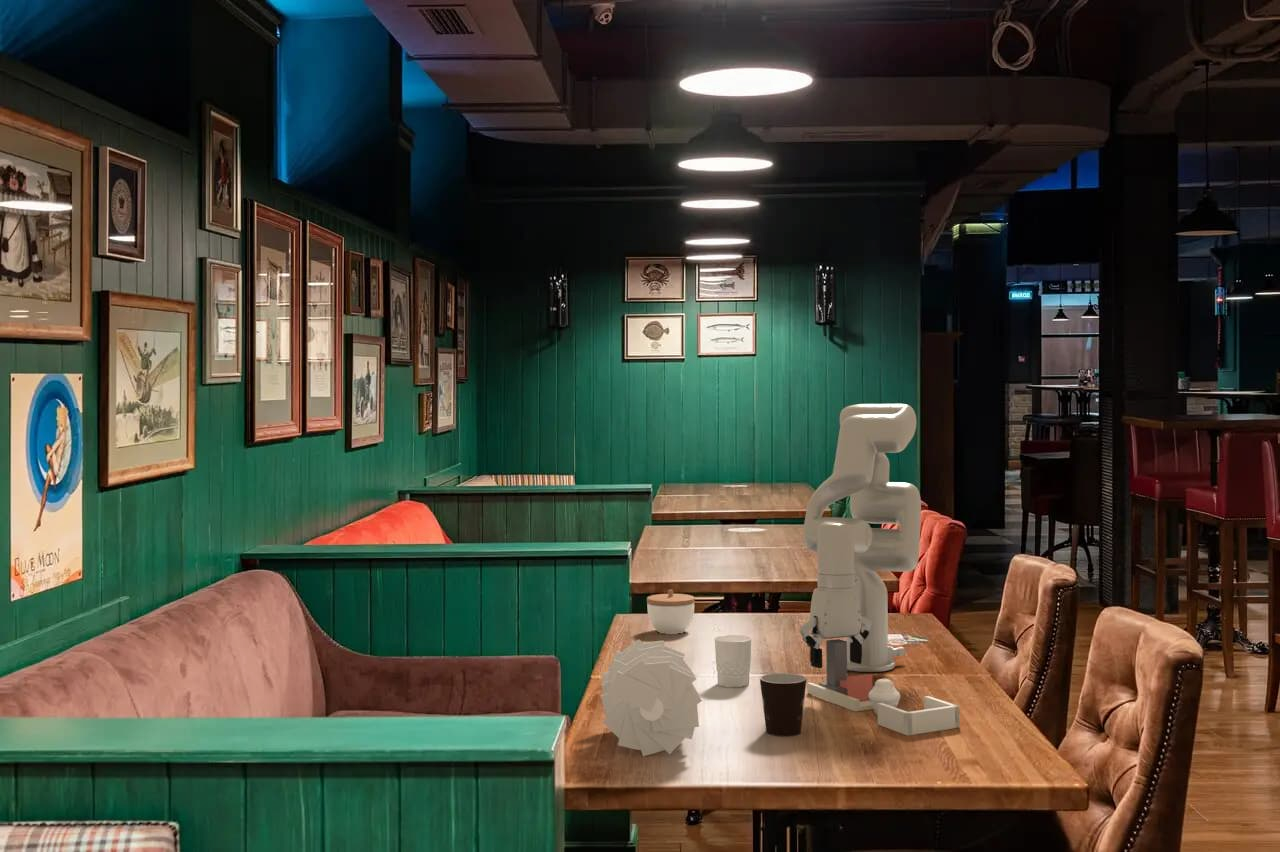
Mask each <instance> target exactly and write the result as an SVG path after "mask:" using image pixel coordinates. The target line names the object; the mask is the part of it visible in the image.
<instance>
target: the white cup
mask: <svg viewBox="0 0 1280 852" xmlns="http://www.w3.org/2000/svg"><path fill="white" fill-rule="evenodd" d="M714 651H715V653H714V654H715V664H716V673H717V674H716V675H717V676H716V677H717V685H718V686H720V687H723V686H724V687H723V688H731V687H732V688H734V687H735V688H737V687H738V688H743V686H744V687H747V686H749V685H750V674H751V673H750V671H751V660H752V637H751V636H749V635H742V634H741V635H740V634H724V635H718V636H715V637H714ZM748 684H749V685H748Z"/></svg>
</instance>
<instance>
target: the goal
mask: <svg viewBox="0 0 1280 852" xmlns="http://www.w3.org/2000/svg"><path fill="white" fill-rule="evenodd" d="M923 698H924V699H923V701H924V703H923V705H924V709H920V710H912V711H906V710H903V709H901V708H898V707H896V708H895V707H893V706H890V705H887V704H884V703H878V715H877V725H878V726H881V727H883V728H887V729H889V730H891V731H893V732H897V733H899V734H903V735H905V736H914V735H919V734H920V735H921V734H927V733H933V732H939V731H945V730H951V729H957V728H960V705H957V704H954V703H952V702H948V701H945V700H941V699H939V698H936V697H932V696H930V695H928V696H924V697H923Z"/></svg>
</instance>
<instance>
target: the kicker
mask: <svg viewBox="0 0 1280 852" xmlns="http://www.w3.org/2000/svg"><path fill="white" fill-rule="evenodd" d="M825 640H826V643H825V644H826V645H825V649H826V659H825V660H826V681H823V682H822V681H821V682H818V685H819V686H822V687H825V688H828V689H830V690H833V691H836V692H839V693H842V694H847V696H850V697H853V698H856V699H858V700H862V699H869V697H868V694H869V692H870V691H871V690H872V689H873V674H869V673H867V674H866V673H865V674H860V675H852V676H848V670H847V641H845V640H843V639H840V638H834V639H829V640H828V639H825Z"/></svg>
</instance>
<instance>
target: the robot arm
mask: <svg viewBox="0 0 1280 852" xmlns="http://www.w3.org/2000/svg"><path fill="white" fill-rule="evenodd" d="M839 426H840V428H839V432H838V439H837V445H836V452H835V457H834V460H835V461H834V466H833V472H832V474H831V475H830V476H829V477H828V478H827V479H826V480H824V481H823V482H822V483H821V484H820V485H819V486H818V487H817V489H816V490H815V491H814V492H813V494H812V496H811V497H810V499H809V501H808V503H807V506H806V507H807V508H806V512H805V518H804V523H803V532H802V535H803V536H802V537H803V544H804V546H805V548H807V550H809V551H810V552H813V553H817V587H816V588H814V589H813V592H812V596H811V600H810V601H811V603H810V609H809V610H810V612H809V620H808V621H806V622H805V623H803V624H802V625H801V626H799V628H798V629H799V633H800V634H801V637H802V640H803V641H804V642H805V643H806V644H807V647H809V653H810V654H809V655H810V656H809V659H810V661H809V662H810V666H811V667H813V668H815V669H816V668H817V669H822V668H823V649H822V648H820V647H821V646H822V644H823V643H824V641H825V640H828V639H829V640H832V639H840V638H845V640H844V641H847V671H852V672H859V673H861V672H862V673H880V672H881V673H882V672H887V671H891V670H893V669H895V667H896V663H895V661H894V660H893V658H895V657H902V656H905V655H906V649H905V647H903V646H899V647H893V646H891V645H889V642H888V640H889V639H888V637H889V632H888V628H889V627H888V626H889V622H888V620H889V619H888V617H889V615H888V590H887V587H886V584H885V582H884V581H883V579H882V578H881V577H880V576H879V574H878V573H877V572H899V573H900V572H904V573H905V572H907V573H908V572H911V571H913V570H915V569H916V567H917V565H918V563H919V558H920V544H921V543H920V542H921V521H922V520H921V518H922V500H921V495H920V490H919V488H918V487H917V486H916V485H914V484H913V483H909V482H900V481H898V482H896V481H895V482H894V481H891V482H890V468H891V467H890V466H891V465H890V460H889V458H888V457H887V455H886V454H888V453H890V454H892V453H893V454H896V453H901V452H902V451H904V450H905V449H906V448H907V446H908V444H909V443H910V442H911V440H912V439H913V438H914V435H915V433H916V429H917V415H916V412H915V410H914V408H913V407H912V406H911V405H909V404H906V403H859V404H857V403H856V404H852V405H847V406H846V407H843V408H842V410H841V411H840V415H839ZM849 496H850V497H849ZM847 497H849V499H850V500H849V509H850V515H851V517H848V518H847V517H830V516H829V517H827V516H826V517H823V515H824V512H825V510H827V509H828V507H830V506H831V505H832V504H835V503H836V502H837V501H840V500H842V499H844V498H847ZM870 524H875V525H877V524H881V525H882V524H885V525H887V524H888V525H897V526H899V528H881V527H880V528H878V527H874V528H873V527H871V525H870Z"/></svg>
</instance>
